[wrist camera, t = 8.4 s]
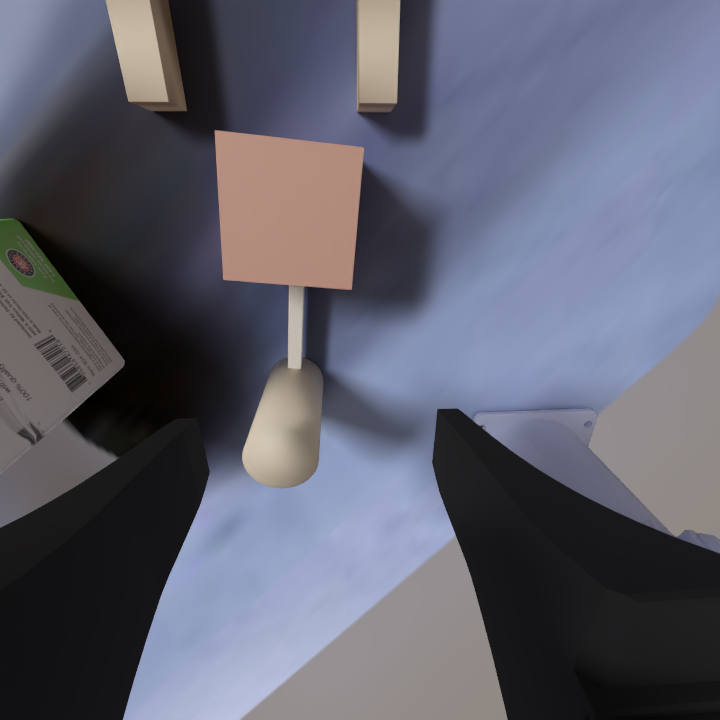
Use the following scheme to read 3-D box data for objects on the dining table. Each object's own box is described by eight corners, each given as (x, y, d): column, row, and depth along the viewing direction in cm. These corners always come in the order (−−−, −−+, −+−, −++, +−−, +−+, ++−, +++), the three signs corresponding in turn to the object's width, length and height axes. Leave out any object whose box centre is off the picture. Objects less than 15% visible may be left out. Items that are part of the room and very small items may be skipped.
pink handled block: (336, 406, 23) (337, 489, 17) (254, 402, 22) (222, 486, 16) (356, 157, 17) (368, 140, 11) (247, 145, 17) (193, 120, 11)
